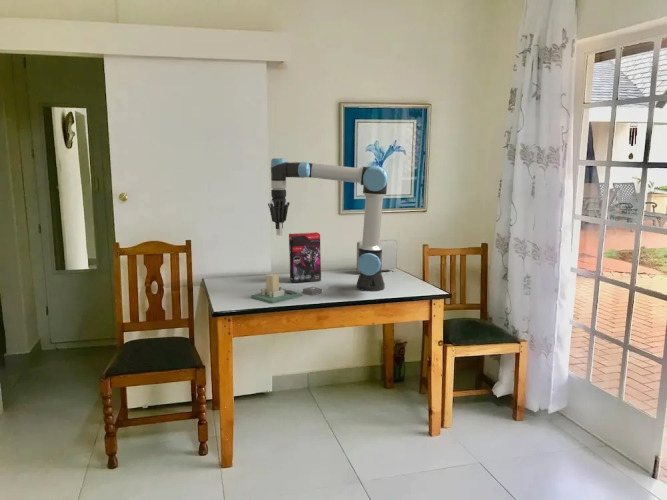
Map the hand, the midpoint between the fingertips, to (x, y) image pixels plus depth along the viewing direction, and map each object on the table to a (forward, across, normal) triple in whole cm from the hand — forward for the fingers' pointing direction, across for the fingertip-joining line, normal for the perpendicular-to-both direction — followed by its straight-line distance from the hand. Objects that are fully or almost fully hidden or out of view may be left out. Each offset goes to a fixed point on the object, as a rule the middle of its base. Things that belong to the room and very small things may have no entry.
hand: (279, 235), depth 274 cm
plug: (+28, +11, +7) cm, 31 cm away
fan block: (+29, -9, +15) cm, 34 cm away
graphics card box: (+30, -25, -7) cm, 39 cm away
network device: (+30, -71, +8) cm, 77 cm away
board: (+29, +9, +8) cm, 32 cm away
